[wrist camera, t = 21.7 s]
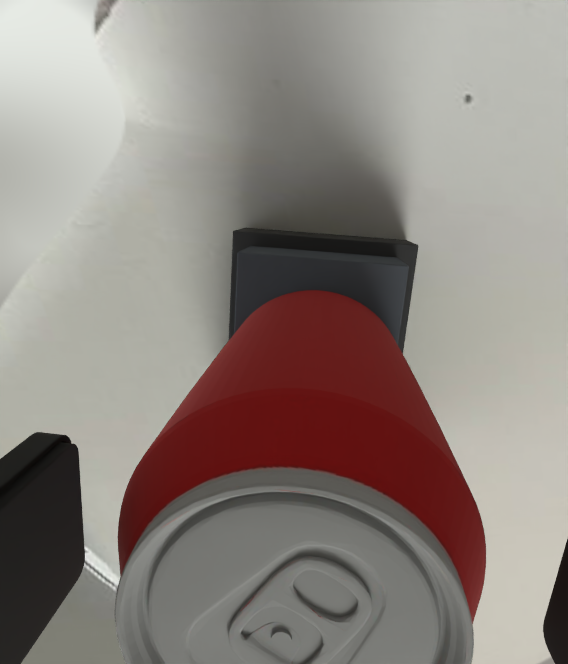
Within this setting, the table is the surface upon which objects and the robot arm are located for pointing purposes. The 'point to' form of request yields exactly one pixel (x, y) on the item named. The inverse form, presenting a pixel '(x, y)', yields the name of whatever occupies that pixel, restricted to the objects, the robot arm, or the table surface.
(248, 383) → the beverage can
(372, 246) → the pad base
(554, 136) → the table surface
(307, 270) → the pad top
